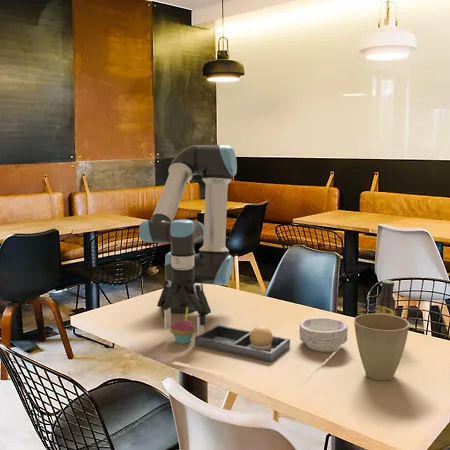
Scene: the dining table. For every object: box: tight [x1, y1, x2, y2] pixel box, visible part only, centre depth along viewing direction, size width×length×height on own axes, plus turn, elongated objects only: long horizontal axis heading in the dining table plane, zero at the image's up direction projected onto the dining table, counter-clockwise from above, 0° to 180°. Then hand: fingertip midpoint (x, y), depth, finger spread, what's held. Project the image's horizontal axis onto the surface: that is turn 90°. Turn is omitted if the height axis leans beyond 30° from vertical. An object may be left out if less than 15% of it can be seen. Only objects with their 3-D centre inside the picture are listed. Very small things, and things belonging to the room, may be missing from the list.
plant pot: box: [353, 313, 410, 381], centre depth 152 cm, size 15×15×16 cm
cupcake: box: [169, 306, 197, 344], centre depth 178 cm, size 9×8×12 cm
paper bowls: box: [299, 317, 349, 352], centre depth 173 cm, size 15×15×8 cm
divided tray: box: [194, 324, 291, 364], centre depth 172 cm, size 27×14×4 cm, turn 60°
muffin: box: [250, 325, 274, 352], centre depth 169 cm, size 7×7×8 cm
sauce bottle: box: [375, 279, 397, 316], centre depth 180 cm, size 7×6×20 cm
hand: (183, 331), depth 178 cm, fingers open, 12 cm apart
